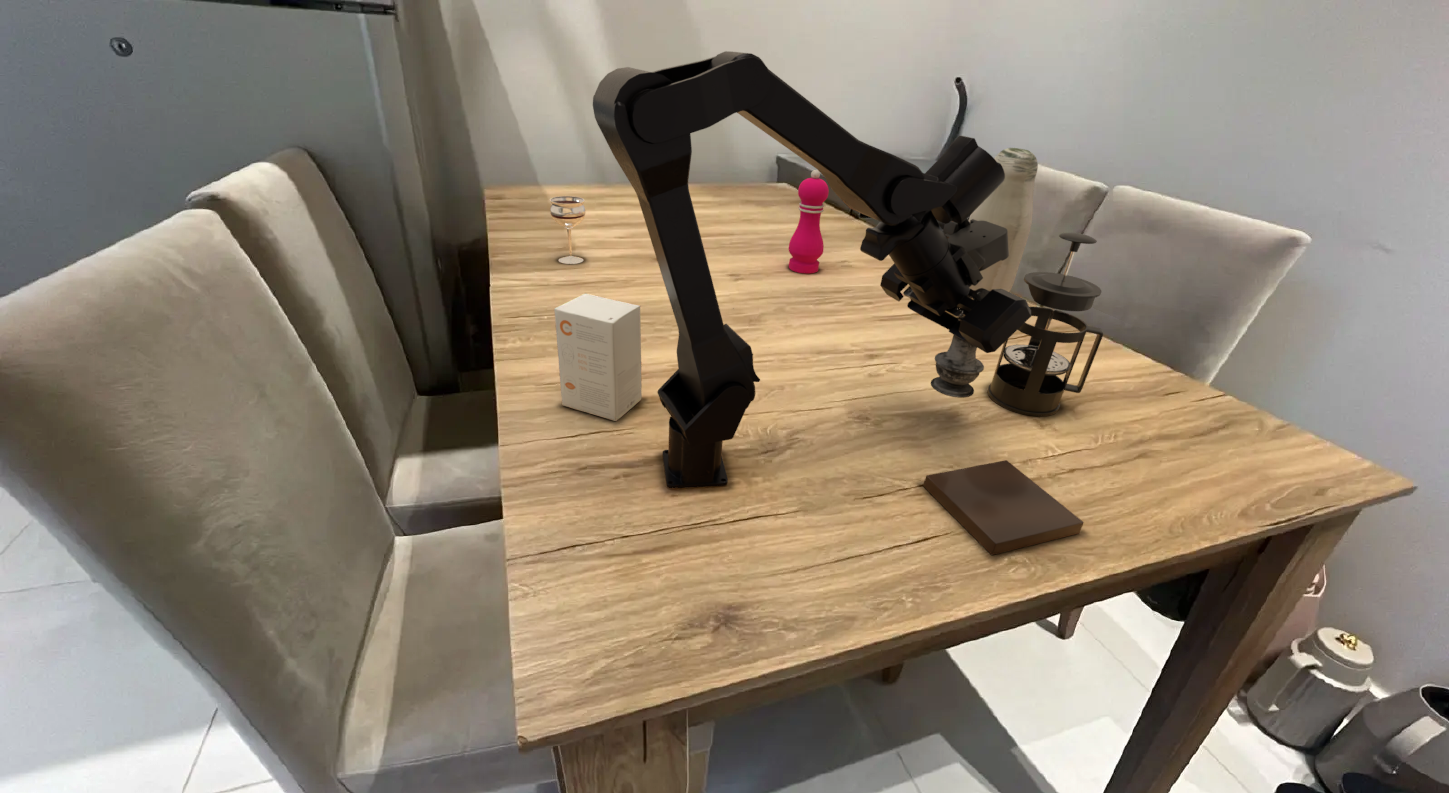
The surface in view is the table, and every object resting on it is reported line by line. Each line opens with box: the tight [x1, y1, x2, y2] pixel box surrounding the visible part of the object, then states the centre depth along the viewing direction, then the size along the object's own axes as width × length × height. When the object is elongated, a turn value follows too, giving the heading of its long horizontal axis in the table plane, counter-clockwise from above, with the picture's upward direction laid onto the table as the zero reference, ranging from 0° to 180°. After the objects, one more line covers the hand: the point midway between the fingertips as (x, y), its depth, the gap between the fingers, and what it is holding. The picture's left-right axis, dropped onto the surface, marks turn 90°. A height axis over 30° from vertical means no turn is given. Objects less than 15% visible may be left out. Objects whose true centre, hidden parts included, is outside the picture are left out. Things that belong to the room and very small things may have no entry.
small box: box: [553, 292, 643, 422], centre depth 76 cm, size 8×6×13 cm
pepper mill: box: [788, 169, 829, 274], centre depth 127 cm, size 7×7×20 cm
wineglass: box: [549, 195, 586, 265], centre depth 125 cm, size 7×7×12 cm
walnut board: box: [923, 459, 1085, 556], centre depth 65 cm, size 11×11×2 cm
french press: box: [986, 232, 1104, 417], centre depth 82 cm, size 12×9×23 cm
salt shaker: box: [930, 319, 985, 399], centre depth 76 cm, size 6×6×12 cm
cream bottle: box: [968, 147, 1039, 299], centre depth 113 cm, size 10×10×28 cm
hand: (974, 338), depth 76 cm, fingers closed on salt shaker, 3 cm apart
